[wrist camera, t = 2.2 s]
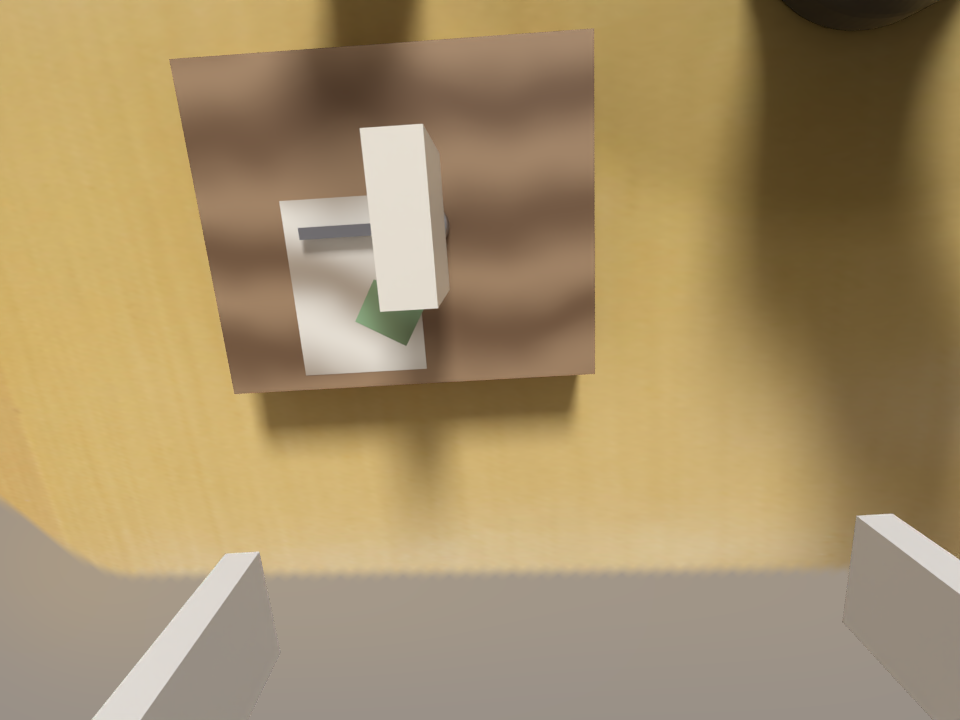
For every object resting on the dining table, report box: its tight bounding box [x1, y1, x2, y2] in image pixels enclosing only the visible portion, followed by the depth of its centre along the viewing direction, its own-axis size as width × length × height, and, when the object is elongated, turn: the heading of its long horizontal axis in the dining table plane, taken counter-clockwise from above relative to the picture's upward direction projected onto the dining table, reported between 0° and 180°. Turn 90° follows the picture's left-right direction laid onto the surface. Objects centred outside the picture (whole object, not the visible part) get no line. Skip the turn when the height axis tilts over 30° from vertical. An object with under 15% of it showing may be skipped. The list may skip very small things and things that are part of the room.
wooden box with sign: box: [169, 29, 595, 394], centre depth 33 cm, size 20×24×5 cm
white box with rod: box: [298, 124, 450, 312], centre depth 25 cm, size 7×9×11 cm
